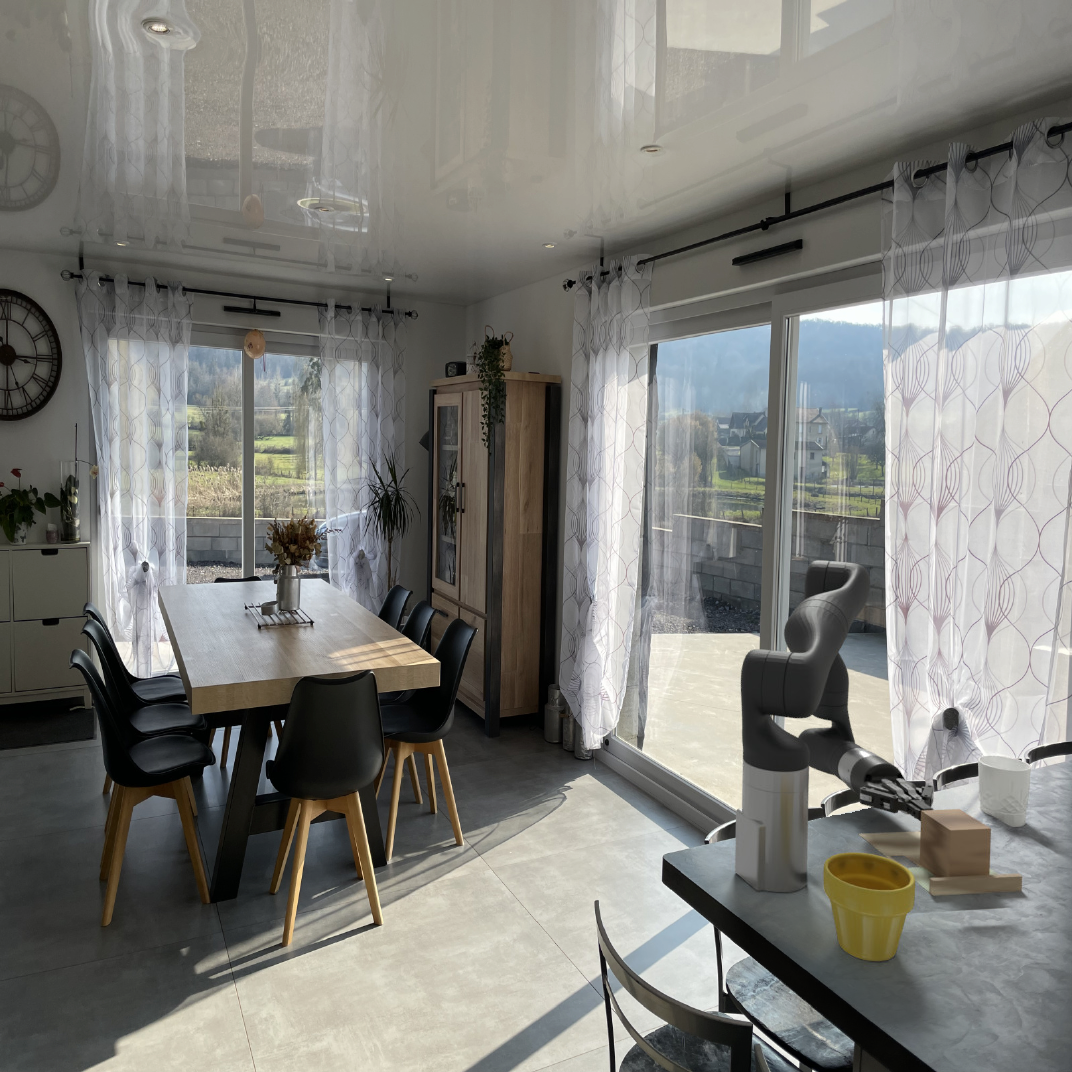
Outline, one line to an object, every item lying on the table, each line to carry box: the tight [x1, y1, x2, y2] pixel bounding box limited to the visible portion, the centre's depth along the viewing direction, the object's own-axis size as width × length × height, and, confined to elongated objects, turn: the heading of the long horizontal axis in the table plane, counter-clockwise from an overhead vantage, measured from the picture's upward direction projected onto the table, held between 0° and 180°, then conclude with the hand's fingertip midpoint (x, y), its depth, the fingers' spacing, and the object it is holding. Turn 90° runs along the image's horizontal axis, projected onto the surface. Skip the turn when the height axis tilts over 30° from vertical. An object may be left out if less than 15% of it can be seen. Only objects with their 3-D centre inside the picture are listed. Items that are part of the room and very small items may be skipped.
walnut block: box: [919, 808, 992, 878], centre depth 116 cm, size 7×6×8 cm
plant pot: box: [822, 851, 916, 962], centre depth 100 cm, size 10×10×10 cm
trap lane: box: [858, 830, 1023, 897], centre depth 120 cm, size 20×13×4 cm, turn 6°
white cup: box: [977, 755, 1032, 828], centre depth 139 cm, size 8×8×10 cm
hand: (928, 816), depth 122 cm, fingers closed
